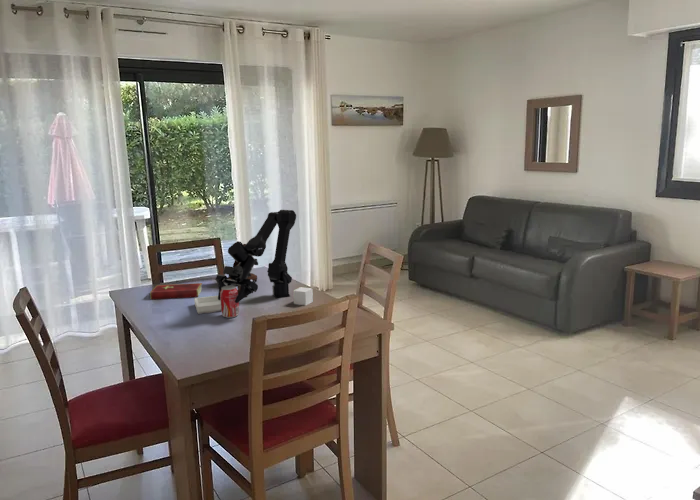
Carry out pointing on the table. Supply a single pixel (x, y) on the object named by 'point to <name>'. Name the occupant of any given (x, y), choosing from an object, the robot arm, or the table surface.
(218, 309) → the tray
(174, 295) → the hardcover book
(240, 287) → the bolt
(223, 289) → the soda can
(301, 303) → the white cube
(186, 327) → the table surface
